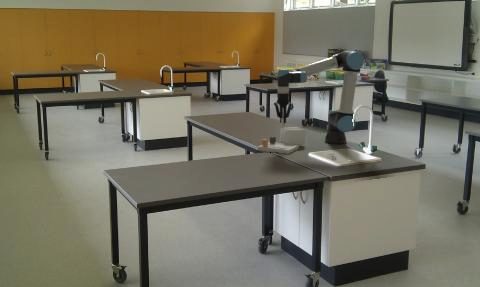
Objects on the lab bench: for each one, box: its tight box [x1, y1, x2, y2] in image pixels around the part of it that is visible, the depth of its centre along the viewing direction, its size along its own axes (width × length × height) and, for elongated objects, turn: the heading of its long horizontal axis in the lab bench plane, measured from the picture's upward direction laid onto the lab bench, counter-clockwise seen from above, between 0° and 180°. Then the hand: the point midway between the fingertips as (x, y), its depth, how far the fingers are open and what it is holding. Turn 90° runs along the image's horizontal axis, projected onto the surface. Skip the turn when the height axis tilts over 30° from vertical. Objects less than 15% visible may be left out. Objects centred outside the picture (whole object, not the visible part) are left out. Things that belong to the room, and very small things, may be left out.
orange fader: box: [261, 138, 269, 146], centre depth 350 cm, size 3×3×4 cm
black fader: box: [269, 136, 277, 143], centre depth 359 cm, size 3×3×4 cm
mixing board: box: [257, 141, 300, 155], centre depth 352 cm, size 22×17×3 cm
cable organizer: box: [279, 126, 306, 147], centre depth 366 cm, size 15×11×12 cm
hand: (283, 127), depth 354 cm, fingers closed
